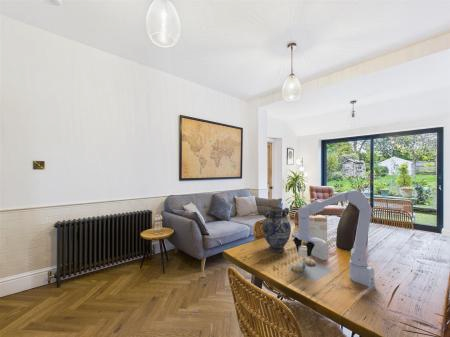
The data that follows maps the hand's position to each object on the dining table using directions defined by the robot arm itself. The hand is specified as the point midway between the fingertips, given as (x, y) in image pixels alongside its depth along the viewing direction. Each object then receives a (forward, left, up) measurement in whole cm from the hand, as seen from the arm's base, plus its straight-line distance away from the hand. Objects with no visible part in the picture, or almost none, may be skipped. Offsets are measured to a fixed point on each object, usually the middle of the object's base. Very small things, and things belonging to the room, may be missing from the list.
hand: (304, 254), depth 110 cm
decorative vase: (+27, -10, -8) cm, 30 cm away
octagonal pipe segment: (0, 0, -1) cm, 1 cm away
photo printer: (+2, -19, -8) cm, 21 cm away
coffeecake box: (+19, -43, -8) cm, 48 cm away
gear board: (-4, 0, -8) cm, 9 cm away
